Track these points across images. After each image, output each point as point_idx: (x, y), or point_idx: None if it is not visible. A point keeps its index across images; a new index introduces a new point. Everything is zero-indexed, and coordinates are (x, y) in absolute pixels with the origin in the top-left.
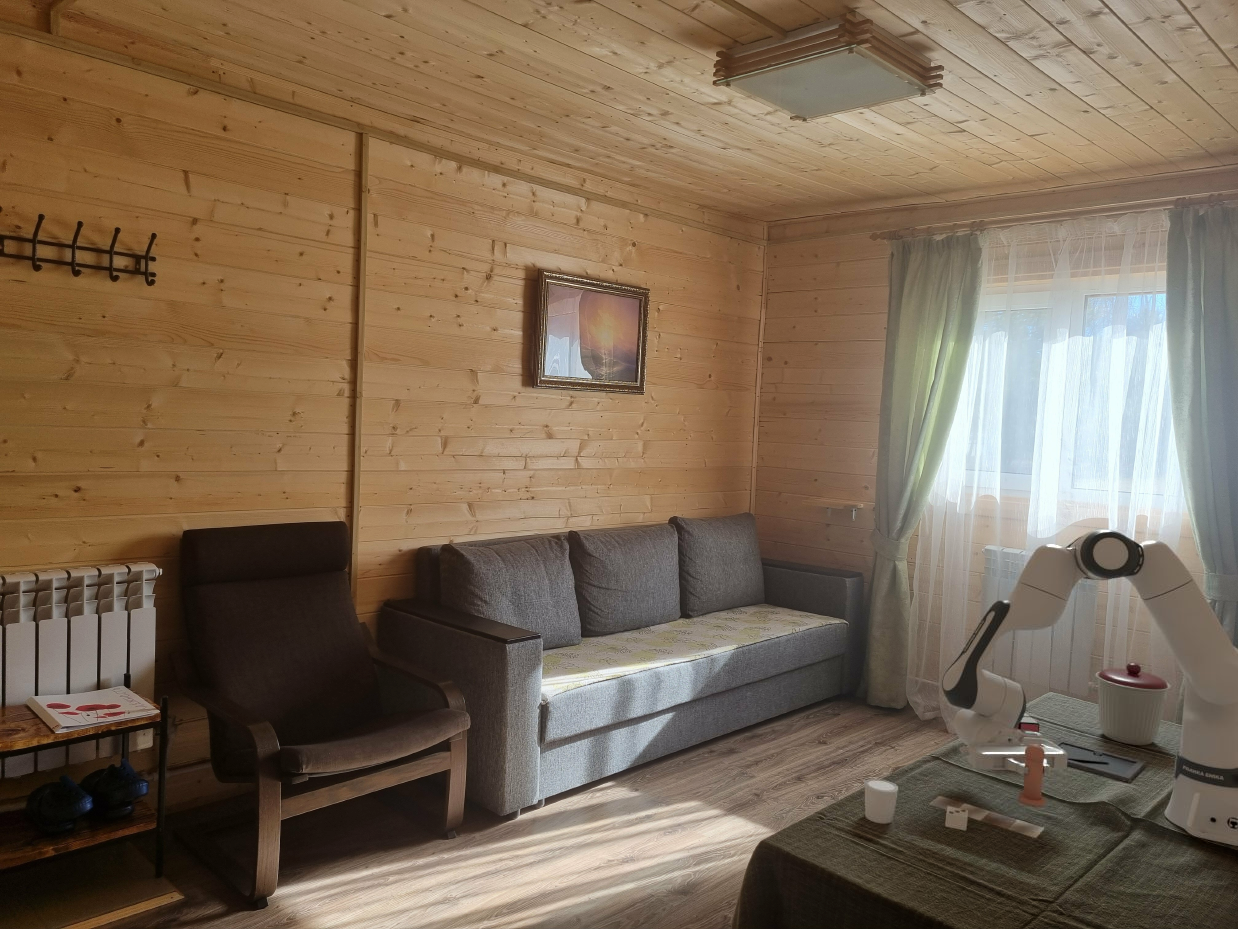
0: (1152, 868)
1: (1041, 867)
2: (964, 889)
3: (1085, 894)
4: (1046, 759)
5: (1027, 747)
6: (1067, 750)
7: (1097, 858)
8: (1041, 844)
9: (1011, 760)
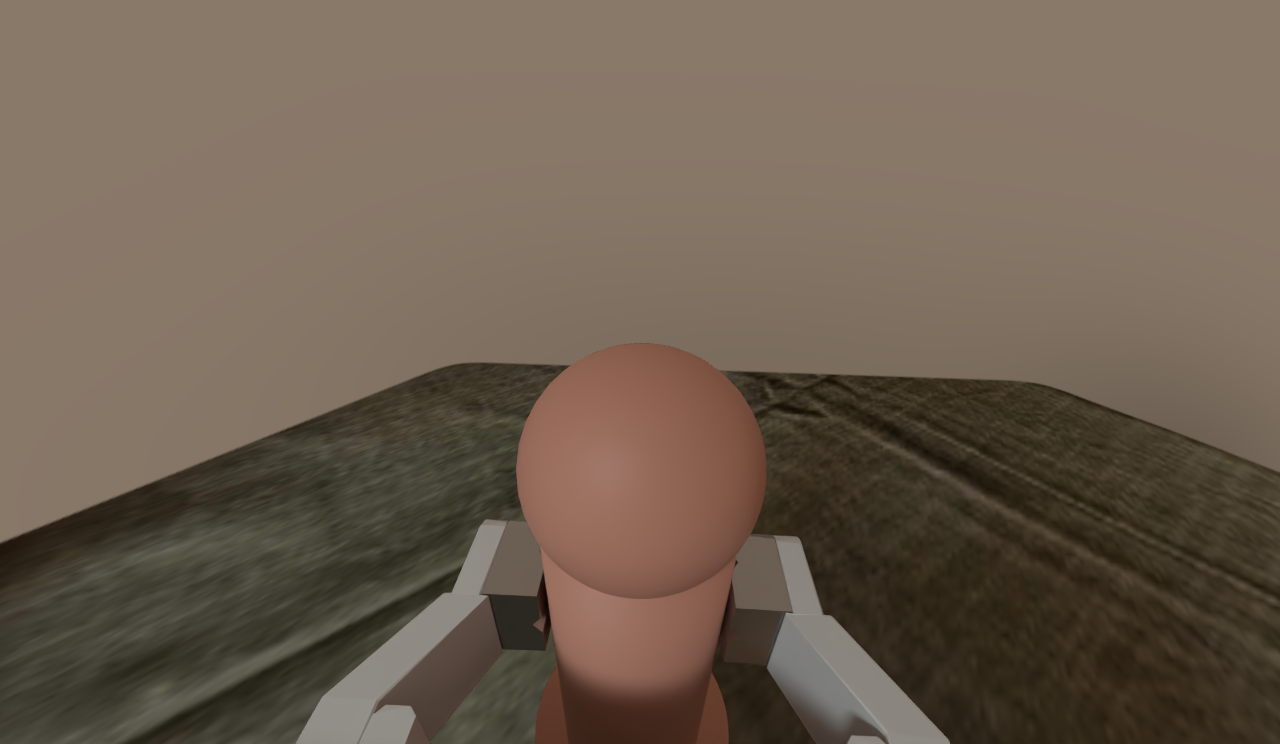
0: (367, 504)
1: None
2: (981, 445)
3: None
4: (322, 697)
5: (747, 428)
6: None
7: None
8: None
9: (895, 699)
